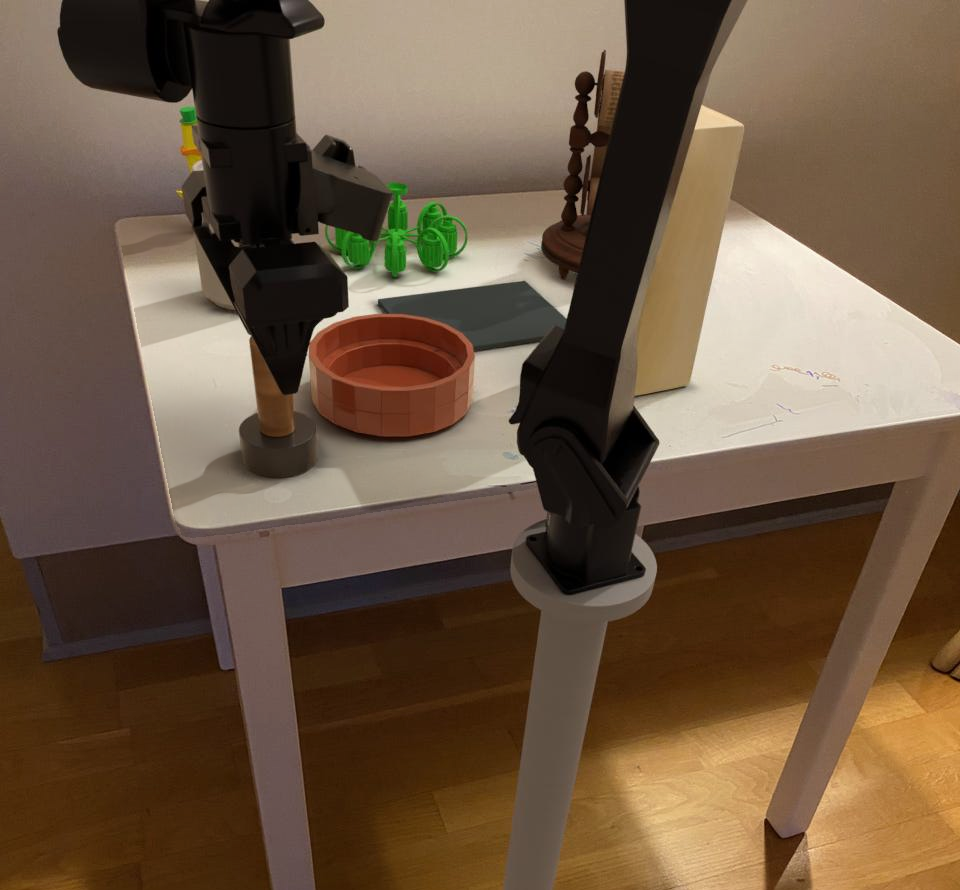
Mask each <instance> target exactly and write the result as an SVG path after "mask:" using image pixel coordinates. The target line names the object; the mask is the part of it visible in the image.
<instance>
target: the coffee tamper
mask: <svg viewBox="0 0 960 890" xmlns="http://www.w3.org/2000/svg"><path fill="white" fill-rule="evenodd" d="M248 340H249V341H248V342H249V351H250V360H251V368H252V376H253V377H252V378H253V386H254V394H255V400H256V410H257V412H256V413H254V414H251V415H249V416H248V417H246V418H245V419H244V420H243V421H242V422H241V423H240V425H239V427H238V436H239V443H240V451H241V457H242V463H243V465H244V466H245V468H246V469H247V470H248V471H249V472H252V473H253V474H256V475H258V476H261V477H265V478H271V479H272V478H273V479H282V478H283V479H284V478H291V477H296V476H298V475H299V476H300V475H301V474H304V473H306V472H308V471H309V470H310V469H312V468H313V467H314V466H315V464H316V463H317V461H318V458H319V451H318V438H317V427H316V422H315V421H314V420H313V419H312V418H311V417H310V416H308V415H307V414H305V413H304V412H303V413H302V412H300V411H296V410H295V409H294V408H295V407H294V397H293V395H294V394H289V395H283V394H282V393H281V392H280V390H279V388H278V386H277V384H276V382H275V380H274V378H273V376H272V374H271V373H270V371H269V369H268V367H267V365H266V363H265V361H264V359H263V357H262V355H261V353H260V352H259V350H258V348H257V346H256V344H255V342H254V340H253V338H252V336H251V335H250V337H249V339H248Z"/></svg>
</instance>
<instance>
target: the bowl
mask: <svg viewBox="0 0 960 890" xmlns="http://www.w3.org/2000/svg"><path fill="white" fill-rule="evenodd" d="M307 355H308V369H309V382H310V394H311V395H310V396H311V402H312V403H313V405H314V406H315V408H316V410H317V411H318V413H319V415H321V416H322V417H324V418H325V419H327V420H328V421H329V422H331V423H333V424H334V425H336V426H339V427H341V428H344V429H347V430H349V431H352V432H355V433H359V434H364V435H365V434H366V435H370V436H377V437H413V436H419V435H423V434H425V435H426V434H430V433H435V432H438V431H440V430H442V429H445V428H447V427H449V426H452V425H454V424H455V423H457V422H458V421H459V420H461V418H463V417H464V416H465V415H467V413H468V412H469V410H470V407H471V405H472V403H473V398H474V397H473V396H474V384H475V383H474V382H475V381H474V380H475V379H474V378H475V364H476V363H475V362H476V354H475V351H474V349H473V345H472V343H471V342H470V341H469V340H468V339H467V338H466V337H465V336H464V334H462V333H461V332H459V331H457V330H456V329H454V328H452V327H450V326H448V325H447V324H444V323H441V322H438V321H435V320H431V319H428V318H424V317H418V316H411V315H405V314H386V313H373V314H363V315H358V316H352V317H349V318H345V319H342V320H339V321H336V322H333V323H331V324H330V325H328V326H326V327H324V328H323V329H320V330H319V331H318V332H317V333H316V334H315V335H314V337H313V338H311V340H310V344H309V348H308V354H307Z"/></svg>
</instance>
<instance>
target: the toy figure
mask: <svg viewBox="0 0 960 890" xmlns="http://www.w3.org/2000/svg"><path fill="white" fill-rule="evenodd" d="M179 113H180V115H181V118H180V119H179V123H180V129H181V135H182V143H183V145H182V146H180V147H179V150H180V155H182V156H183V157H185V159H186V163H187V166H188V170H189V175H190V174H191V173H192V166H193V165H194V164H195V163H196V162H198V161H200V160H202V156H201V153H200V152H199V150H198V149H197V148H196V146H195V145H194V142H193V135H192V128H191V125H197V120H196V113H195V106H184V107H181V108H180V109H179ZM175 192H176V194H177V195H178V196H179V197H180V199H182V200H183V194H182V190H175Z"/></svg>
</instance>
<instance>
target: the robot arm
mask: <svg viewBox="0 0 960 890" xmlns="http://www.w3.org/2000/svg"><path fill="white" fill-rule="evenodd" d="M623 1H624V4H623V5H624V21H625V41H626V59H625V60H626V61H625V69H624V72H625V73H624V77H623V81H622V86H621V90H620V94H619V98H618V103H617V107H616V111H615V115H614V120H613V124H612V128H611V132H610V137H609V141H608V145H607V150H606V154H605V158H604V162H603V167H602V171H601V175H600V179H599V184H598V188H597V192H596V196H595V201H594V205H593V209H592V214H591V218H590V222H589V226H588V231H587V235H586V239H585V243H584V248H583V252H582V256H581V260H580V265H579V269H578V273H576V278H575V282H574V287H573V291H572V295H571V298H570V303H569V308H568V312H567V317H566V319H567V320H566V324H565V328H564V329H562V328H560V327H558V326H557V325H554V326H553V327H552V328H551V329H550V331H549V332H548V333H547V334H546V335H545V337H544V338H543V339H542V340H541V341H539V343H538V344H537V345H536V346H535V348H534V349H533V350H532V351H531V352H530V354H529V355H528V356H527V357H526V359H524V361H523V362H522V364H521V370H520V376H519V395H518V396H519V397H518V402H517V405H516V407H515V411H514V412H513V413H512V415H511V416H510V417H509V419H508V423H509V424H510V425H517V424H519V425H518V427H517V430H516V447H517V450H518V453H519V454H520V456H523V457H524V459H525V461H526V462H527V464H528V465H529V467H531V468H532V470H533V474H534V475H533V476H534V478H535V482H536V486H537V489H538V493H539V497H540V501H541V505H542V508H543V510H544V511H545V512H546V518H545V519H546V532H541V533H537V534H533V535H529V536H527V537H526V545H527V547H528V548H529V549H530V551H531V552H532V553H533V555H534V556H535V557H536V559H537V560H538V561H539V563H540V564H541V565H542V567H543V568H544V569H545V571H546V572H547V573H548V575H549V576H550V577H551V579H552V580H553V581H554V583H555V584H556V585H557V587H558V588H559V589H560V591H561V592H562V593H563V594H565V595H574V594H578V593H582V592H586V591H590V590H594V589H598V588H602V587H606V586H610V585H613V584H617V583H621V582H625V581H629V580H633V579H637V578H641V577H643V576H644V575H645V572H646V568H645V567H644V565H643V564H642V563H641V562H640V561H639V560H638V558H637V557H636V556H635V555H634V554H633V553H632V548H633V543H634V538H635V534H636V535H637V529H638V524H639V519H640V515H641V511H642V510H641V509H642V505H641V504H640V503H639V498H640V492H641V491H640V484H641V481H642V479H643V478H644V475H645V474H646V472H647V470H648V468H649V466H650V465H651V462H652V460H653V458H654V456H655V455H656V452H657V450H658V448H659V446H660V444H661V443H660V439H659V438H658V436H657V435H656V434H655V433H654V431H653V430H652V428H651V427H650V425H649V424H648V423H647V422H646V420H645V419H644V417H643V415H642V414H641V413H640V411H639V410H638V409H637V408H636V406H635V405H634V403H635V397H636V396H635V388H636V379H637V370H638V358H637V341H636V331H637V324H638V320H639V317H640V313H641V310H642V307H643V303H644V300H645V296H646V293H647V290H648V286H649V283H650V279H651V276H652V272H653V269H654V266H655V262H656V259H657V255H658V252H659V249H660V245H661V242H662V238H663V235H664V231H665V228H666V225H667V221H668V218H669V214H670V211H671V208H672V204H673V201H674V197H675V194H676V191H677V187H678V184H679V180H680V177H681V173H682V170H683V167H684V163H685V160H686V156H687V153H688V150H689V146H690V143H691V139H692V136H693V132H694V129H695V126H696V122H697V119H698V115H699V112H700V109H701V105H703V101H704V99H705V95H706V91H707V89H708V86H709V85H708V84H709V81H710V77H711V75H712V72H713V69H714V67H715V65H716V63H717V61H718V59H719V57H720V55H721V52H722V51H723V49H724V48H725V45H726V43H727V41H728V39H729V37H730V36H731V33H732V31H733V30H734V28H735V26H736V24H737V22H738V20H739V18H740V16H741V14H742V13H743V10H744V8H745V6H746V4H747V3H748V1H749V0H623ZM59 11H60V12H59V27H58V28H57V29H56V33H57V38H58V45H59V48H60V51H61V54H62V57H63V59H64V61H65V63H66V65H67V67H68V69H69V70H70V72H71V73H72V75H73V76H74V77H75V79H77V80H78V81H79V82H80V83H81V84H82V85H83V86H86V87H88V88H91V89H95V90H100V91H104V92H111V93H116V94H121V95H127V96H133V97H137V98H142V99H149V100H153V101H158V102H164V103H169V104H171V103H172V104H177V103H180V102H182V101H183V100H184V99H186V98H187V97H188V96H189V94H190V93H191V91H192V97H193V98H192V99H193V104H194V107H195V113H196V120H197V125H191V128H192V135H193V142H194V145H195V146H196V148H197V149H198V150H199V152H200V153H201V156H202V164H203V170H200V171H192V173H191V174H190V173H189V175H188V177H187V178H186V179H185V180H184V182H183V183H182V185H181V186H180V187H181V191H182V194H183V199H182V200H183V206H184V213H185V216H186V217H187V219H188V221H189V223H190V224H191V230H192V232H193V235H194V234H195V235H196V237H197V239H198V241H199V243H200V245H201V247H202V249H203V250H204V252H205V254H206V256H207V258H208V260H209V262H210V264H211V265H212V267H213V269H214V271H215V273H216V275H217V277H218V279H219V280H220V282H221V284H222V286H223V288H224V290H225V291H226V293H227V295H228V297H229V299H230V301H231V303H232V305H233V307H234V308H235V310H234V311H235V312H236V315H237V316H238V318H239V320H240V321H241V323H242V325H243V327H244V330H245V332H247V334H248V335H249V336H250V337H251V336H252V338H253V340H254V342H255V344H256V346H257V348H258V350H259V352H260V353H261V355H262V357H263V359H264V361H265V363H266V365H267V367H268V369H269V371H270V373H271V374H272V376H273V378H274V380H275V382H276V384H277V386H278V388H279V390H280V392H281V393H282V394H283V395H289V394H292V395H295V394H297V393H298V392H299V390H300V387H301V382H302V377H303V373H304V368H305V364H306V360H307V355H308V353H309V344H310V342H311V341H312V337H313V333H314V330H315V329H316V327H317V326H318V325H319V324H320V323H321V322H322V321H323V320H325V319H331V318H333V317H335V316H337V314H339V313H344V312H345V311H346V310H347V309H348V308H349V307H350V304H349V303H350V302H349V301H350V300H349V280H348V279H349V278H348V275H347V274H346V273H345V272H344V270H343V269H342V268H341V266H340V265H339V264H338V263H337V261H336V260H335V259H334V258H333V257H332V255H331V254H330V253H329V252H328V251H326V249H324V248H323V246H321V245H320V244H319V243H317V242H316V241H307V242H296V243H295V242H294V240H293V235H295V234H298V235H299V236H301V237H305V236H314V235H319V234H320V229H319V223H320V224H322V225H325V226H326V225H328V226H327V227H332V228H334V229H335V228H339V229H342V230H346V231H349V232H353V233H356V234H360V235H361V237H362V238H363V239H366V240H369V242H371V241H378V239H380V236H381V235H380V233H382V231H383V230H382V227H383V226H384V223H385V221H386V220H385V219H386V216H387V214H388V210H389V204H390V203H391V201H392V196H393V195H392V194H393V192H392V191H391V189H389V188H388V187H387V186H386V185H387V184H386V183H384V181H383V180H381V178H380V177H378V176H377V175H376V174H374V173H373V172H371V171H369V170H367V168H366V167H365V166H363V165H358V166H356V159H355V155H354V154H355V153H354V149H353V147H352V146H351V145H350V144H348V143H347V142H346V141H345V140H344V139H341V138H338V137H335V136H333V135H329V134H325V135H323V136H322V138H321V139H320V140H319V141H318V143H317V144H316V145H315V146H314V147H313V149H311V146H310V145H309V144H308V143H307V142H306V141H305V140H304V139H303V138H302V137H301V135H299V134H298V133H297V119H296V108H295V106H296V105H295V95H294V94H295V93H294V78H293V66H292V51H291V40H294V39H295V38H299V37H301V36H304V35H307V34H310V33H313V32H317V31H318V30H321V29H323V28H324V26H325V23H326V22H325V21H326V20H325V17H324V15H323V14H322V13H321V12H320V11H319V10H318V8H317V7H316V6H315V5H314V4H313V3H312V2H311V1H310V0H208V1H207V0H62V1H61V5H60V10H59ZM202 214H203V221H204V222H202Z"/></svg>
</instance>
